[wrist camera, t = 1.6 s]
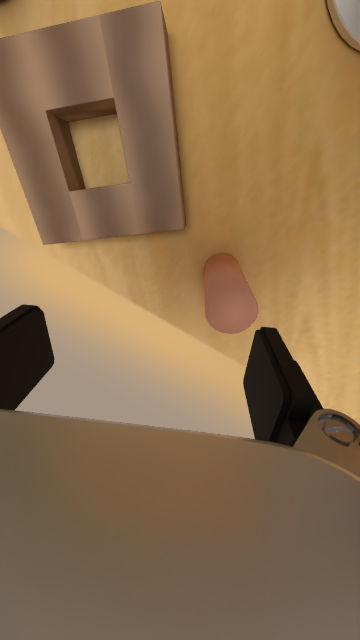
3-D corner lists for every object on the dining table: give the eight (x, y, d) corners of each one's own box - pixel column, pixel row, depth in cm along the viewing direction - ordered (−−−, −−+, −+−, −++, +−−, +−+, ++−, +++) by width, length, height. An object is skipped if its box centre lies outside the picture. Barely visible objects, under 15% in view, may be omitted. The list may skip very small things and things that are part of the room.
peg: (238, 251, 30) (259, 284, 19) (238, 285, 32) (257, 332, 21) (203, 255, 30) (203, 289, 20) (205, 287, 32) (207, 334, 22)
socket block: (167, 32, 21) (160, 0, 18) (185, 224, 29) (183, 229, 25) (5, 67, 23) (-31, 45, 20) (61, 238, 31) (43, 244, 27)
